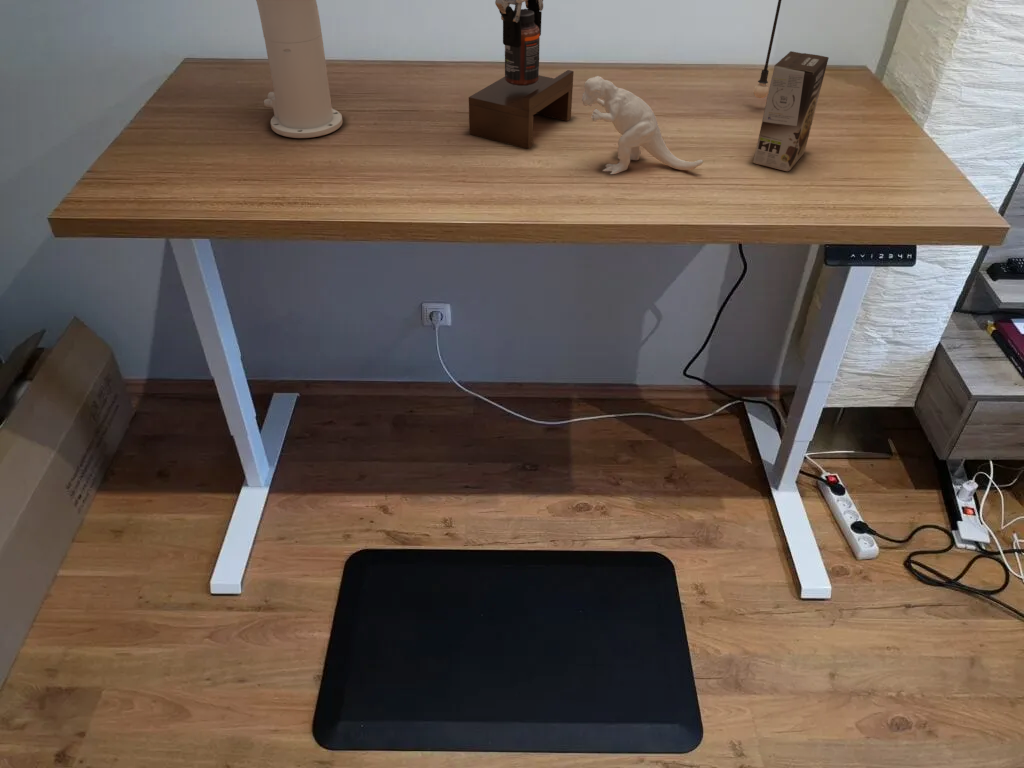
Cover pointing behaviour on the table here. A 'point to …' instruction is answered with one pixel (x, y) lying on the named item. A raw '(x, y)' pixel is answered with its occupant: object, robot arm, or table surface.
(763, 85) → the light fixture
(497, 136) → the stand
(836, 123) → the table surface
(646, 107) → the dinosaur figurine
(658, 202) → the table surface
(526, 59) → the supplement bottle
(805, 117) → the coffee box
